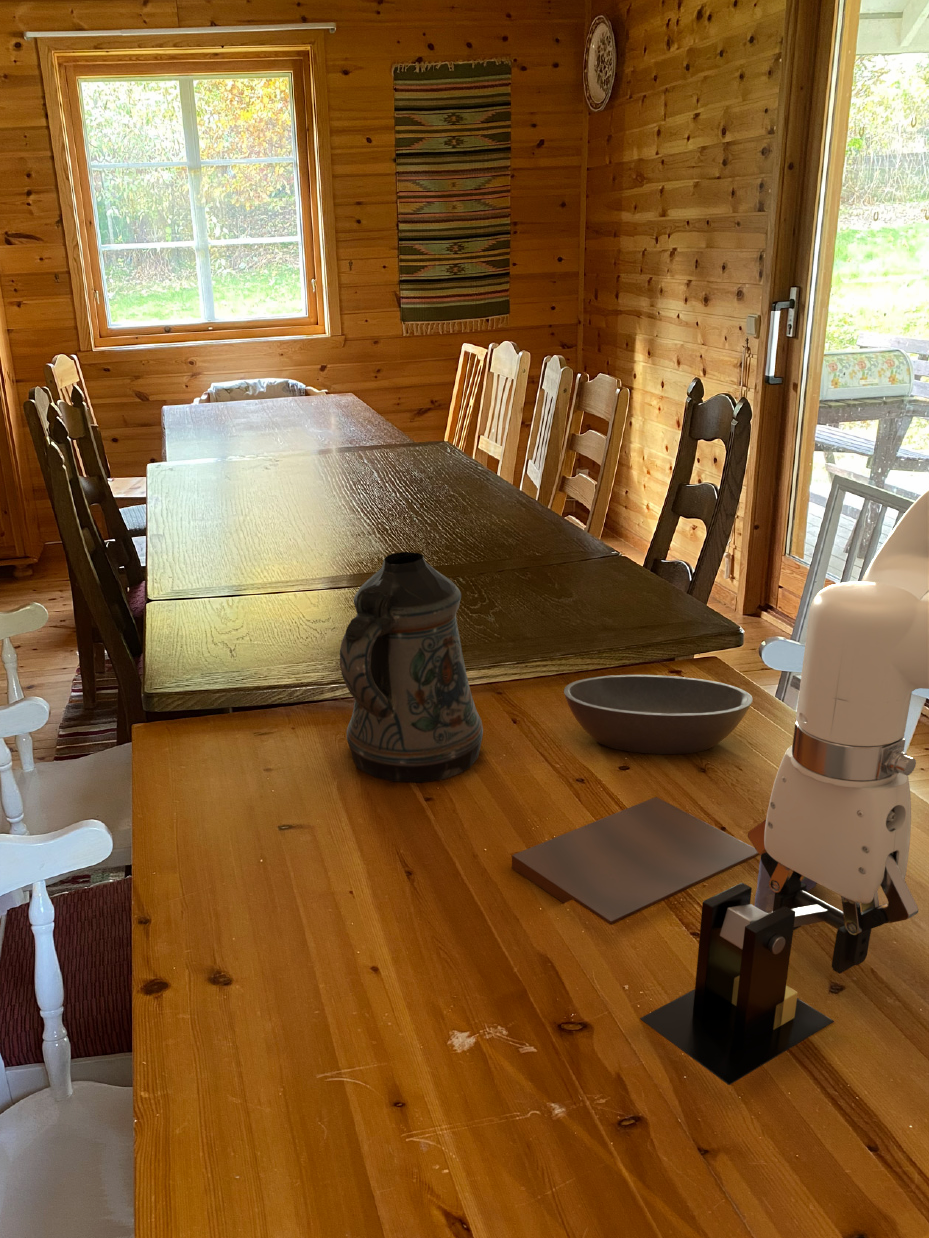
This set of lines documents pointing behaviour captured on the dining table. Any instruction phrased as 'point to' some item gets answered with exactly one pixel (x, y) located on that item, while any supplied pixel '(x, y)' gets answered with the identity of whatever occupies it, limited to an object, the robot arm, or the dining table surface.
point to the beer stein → (409, 676)
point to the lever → (744, 915)
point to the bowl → (657, 712)
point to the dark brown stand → (707, 1014)
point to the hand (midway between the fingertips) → (816, 945)
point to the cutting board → (631, 859)
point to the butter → (787, 1007)
